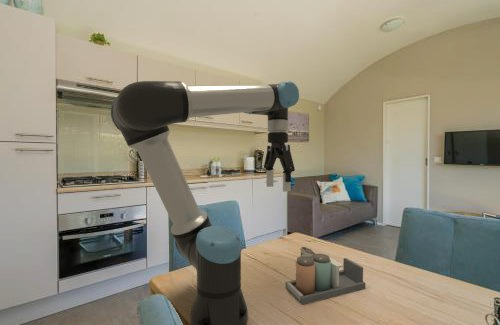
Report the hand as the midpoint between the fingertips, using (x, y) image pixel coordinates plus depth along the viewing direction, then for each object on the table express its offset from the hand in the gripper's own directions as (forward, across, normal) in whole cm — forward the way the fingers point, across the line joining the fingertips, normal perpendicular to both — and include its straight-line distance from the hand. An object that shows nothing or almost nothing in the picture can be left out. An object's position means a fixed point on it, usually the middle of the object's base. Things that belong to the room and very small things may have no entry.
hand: (277, 188), depth 95 cm
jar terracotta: (+30, -18, 0) cm, 35 cm away
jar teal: (+30, -18, -6) cm, 36 cm away
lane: (+31, -18, -8) cm, 36 cm away
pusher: (+30, -18, -11) cm, 36 cm away
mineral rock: (+31, 0, -14) cm, 34 cm away
